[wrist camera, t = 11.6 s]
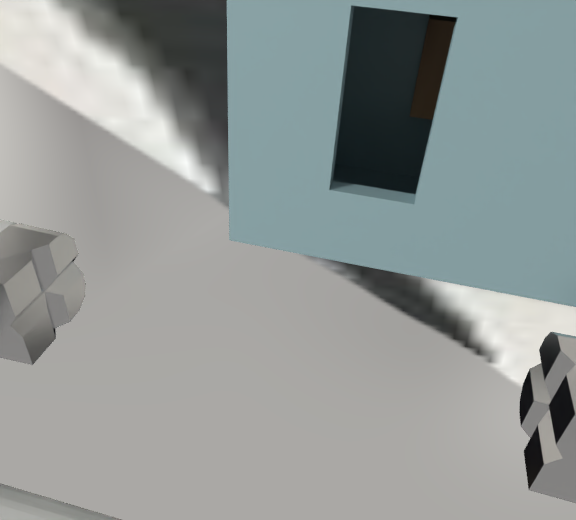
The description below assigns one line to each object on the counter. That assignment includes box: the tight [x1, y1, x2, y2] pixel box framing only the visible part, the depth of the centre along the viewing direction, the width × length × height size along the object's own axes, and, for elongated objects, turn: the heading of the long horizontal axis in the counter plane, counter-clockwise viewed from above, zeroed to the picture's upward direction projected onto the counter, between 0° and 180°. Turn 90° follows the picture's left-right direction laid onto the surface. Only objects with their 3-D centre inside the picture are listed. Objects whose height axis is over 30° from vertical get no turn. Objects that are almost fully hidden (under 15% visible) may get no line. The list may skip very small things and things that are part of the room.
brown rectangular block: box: [409, 14, 456, 120], centre depth 28 cm, size 2×5×4 cm
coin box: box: [227, 0, 576, 307], centre depth 25 cm, size 20×16×10 cm
